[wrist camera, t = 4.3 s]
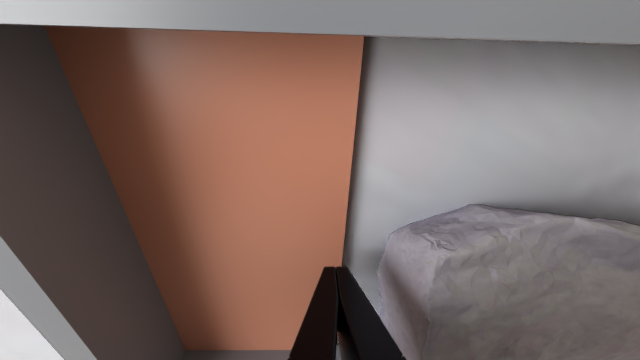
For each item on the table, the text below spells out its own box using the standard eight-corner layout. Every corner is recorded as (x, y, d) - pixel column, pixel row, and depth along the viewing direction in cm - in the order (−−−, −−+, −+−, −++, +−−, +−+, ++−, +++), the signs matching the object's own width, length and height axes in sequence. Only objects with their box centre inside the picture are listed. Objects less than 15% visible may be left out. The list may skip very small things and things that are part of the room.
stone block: (367, 189, 12) (372, 350, 15) (404, 249, 7) (400, 465, 10) (622, 164, 12) (574, 330, 15) (824, 207, 7) (693, 433, 10)
